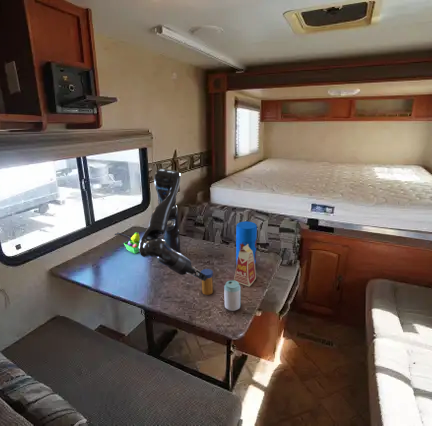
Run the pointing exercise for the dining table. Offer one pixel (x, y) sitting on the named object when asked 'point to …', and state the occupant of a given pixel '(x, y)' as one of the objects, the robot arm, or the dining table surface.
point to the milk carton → (245, 267)
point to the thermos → (246, 237)
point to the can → (232, 295)
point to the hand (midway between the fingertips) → (199, 275)
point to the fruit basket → (133, 243)
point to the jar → (207, 286)
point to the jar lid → (207, 273)
